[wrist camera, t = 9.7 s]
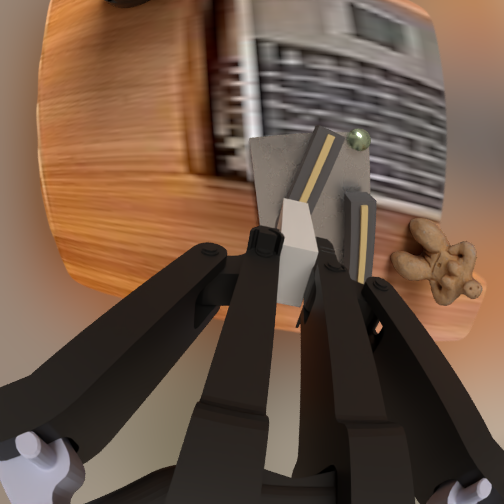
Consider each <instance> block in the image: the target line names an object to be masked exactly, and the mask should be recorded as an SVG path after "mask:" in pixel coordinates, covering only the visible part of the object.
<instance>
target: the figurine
mask: <svg viewBox="0 0 504 504" xmlns="http://www.w3.org/2000/svg"><path fill="white" fill-rule="evenodd" d="M409 226H410V231H411V233H412V235H413V237H414V239H415V240H416V242H418V243H420V244H421V245H422V246H423V247H424V250H423V252H422V253H421V254H420V255H418V256H415V255H412V254H410V253H408V252H406V251H397V252H394V253H392V255H391V261H392V263H393V266H394V268H395V269H396V271H397V272H398V273H399V274H400V275H401V276H402V277H403V278H406V279H408V280H411V281H419V280H423V279H427V280H429V281H430V285H431V291H432V294H433V297H434V299H435V301H436V302H437V303H438V304H439V305H443V306H447V305H450V304H451V303H452V302H453V301H454V300H456V299H457V298H458V297H459V296H460V295H461V294H464V295H466V296H467V297H469V298H470V299H475V298H478V297H479V296H480V294H481V292H482V286H481V284H480V283H479V282H478V281H476V280H475V279H474V278H473V277H472V272H473V269H474V266H475V262H476V258H477V252H476V249H475V247H474V245H473V244H471V243H469V242H467V241H463V242H460V243H458V244H456V245H452V246H450V243H449V241H448V240H447V238H446V236H445V234H444V233H443V232H442V230H441V229H440V228H439V227H438V225H436V224H435V223H434V222H433V221H431V220H428V219H423V218H416V219H413V220H411V222H410V224H409Z"/></svg>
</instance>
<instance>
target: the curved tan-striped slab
mask: <svg viewBox="0 0 504 504" xmlns="http://www.w3.org/2000/svg"><path fill="white" fill-rule="evenodd" d="M375 226H376V200H375V199H374V198H373V197H372V196H371V195H370V194H368V193H367V192H344V263H343V265H344V266H345V267H346V268H347V270H348V272H349V275H350V278H351V279H352V280H355V281H357V282H359V283H362V284H364V283H365V281H366V279H367V278H368V277H372V267H373V256H374V243H375Z"/></svg>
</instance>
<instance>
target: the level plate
mask: <svg viewBox="0 0 504 504" xmlns="http://www.w3.org/2000/svg"><path fill="white" fill-rule="evenodd" d="M335 133H337V134H339V135H342V136H344V137H346V138H345V141H344V143H343V145H342V148H341V150H340V152H339V155H338V157H337V159H336V161H335V164H334V166H333V168H332V171H331V173H330V175H329V177H328V180H327V182H326V184H325V186H324V188H323V191H322V193H321V195H320V197H319V199H318V202H317V204H316V206H315V208H314V210H313V212H312V215H311V220H312V224H313V229H314V233H315V236H316V237H320V238H325V239H328V240H329V241H330V242H331V243H332V244H333V247H334V250H335V254H336V257H337V260H338V262H339V263H341V264H343V263H344V192H367V193H368V194H370V161H369V146H370V142H371V139H370V136H369V134H368V132H366V131H365V130H363V129H353V130H352V131H350V132H335ZM312 134H313V133H302V134H286V135H274V136H264V137H254V138H249V140H250V148H251V155H252V163H253V171H254V180H255V188H256V196H257V204H258V213H259V221H260V225H262V226H267V227H271V228H275V222H276V219H277V217H278V214H279V212H280V210H281V207H282V204H283V199H284V198H286V196H287V193H288V191H289V189H290V186H291V184H292V181H293V179H294V177H295V174H296V172H297V169H298V167H299V165H300V162H301V160H302V158H303V155H304V153H305V150H306V148H307V146H308V143H309V141H310V138H311V136H312Z"/></svg>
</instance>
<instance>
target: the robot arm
mask: <svg viewBox="0 0 504 504" xmlns="http://www.w3.org/2000/svg"><path fill="white" fill-rule="evenodd" d="M104 1H106V2H107V3H109V4H111V5H113V6H115V7H120V8H128V7H133V6H137V5H140V4H142V3H145V2H147V1H149V0H104ZM303 298H304V305H303V308H302V311H301V314H300V316H299V319H298V322H297V324H296V328H298V327H299V325H300V324H301V390H300V391H301V392H300V393H301V394H300V426H299V448H298V459H297V462H296V465H295V467H294V470H293V473H292V477H291V478H290V477H286V476H284V475H280V474H277V473H274V472H271V471H268V470H265V469H264V464H265V456H266V448H267V440H268V431H269V418H268V416H267V415H266V404H267V396H268V387H269V378H270V369H271V358H272V348H273V338H274V327H275V316H276V304H277V303H281V304H286V305H291V306H296V307H300V306H301V303H302V301H303ZM220 306H229V308H228V312H227V315H226V318H225V321H224V325H223V328H222V331H221V334H220V338H219V341H218V344H217V347H216V350H215V354H214V357H213V360H212V363H211V367H210V370H209V373H208V376H207V380H206V383H205V386H204V389H203V393H202V396H201V399H200V401H199V402H197V404H196V406H195V408H194V411H193V414H192V416H191V420H190V423H189V426H188V429H187V432H186V436H185V439H184V442H183V445H182V449H181V452H180V455H179V458H178V461H177V465H173V466H169V467H165V468H162V469H159V470H156V471H154V472H151V473H150V474H148V475H146V476H144V477H142V478H140V479H138V480H136V481H134V482H132V483H130V484H128V485H127V486H124V487H122V488H120V489H118V490H116V491H113V492H111V493H109V494H107V495H105V496H102V497H100V498H97V499H95V500H93V501H90V502H88V503H85V504H415V497H416V499H417V501H418V502H419V503H420V504H504V450H503V449H502V448H501V447H500V446H499V445H498V444H497V442H496V441H495V440H494V439H493V438H492V436H491V434H490V432H489V430H488V428H487V426H486V424H485V422H484V420H483V419H482V417H481V415H480V413H479V411H478V410H477V408H476V406H475V404H474V403H473V401H472V400H471V397H470V396H469V394H468V392H467V391H466V389H465V387H464V386H463V384H462V382H461V381H460V379H459V378H458V376H457V375H456V373H455V371H454V370H453V368H452V367H451V365H450V364H449V362H448V361H447V359H446V358H445V356H444V355H443V354H442V352H441V350H440V349H439V347H438V346H437V345H436V343H435V342H434V340H433V339H432V338H431V336H430V335H429V333H428V332H427V331H426V329H425V328H424V326H423V325H422V324H421V322H420V321H419V320H418V318H417V317H416V316H415V314H414V313H413V312H412V310H411V309H410V308H409V307H408V305H407V304H406V303H405V301H404V300H403V299H402V298H401V296H400V295H399V294H398V293H397V291H396V290H395V289H394V288H393V286H392V285H391V284H390V283H388V282H387V281H385V280H384V279H381V278H380V277H368V278H367V279H366V281H365V283H364V284H362V283H359V282H357V281H355V280H352V279H351V278H350V275H349V272H348V270H347V268H346V267H345V266H344V265H343V264H341V263H339V262H338V260H337V257H336V254H335V250H334V247H333V244H332V243H331V242H330V241H329V240H328V239H325V238H320V237H316V236H315V233H314V229H313V224H312V220H311V215H310V211H309V206H308V203H304V202H299V201H295V200H291V199H286V198H284V199H283V204H282V208H281V213H280V217H279V222H278V226H277V229H276V228H271V227H267V226H262V225H260V226H258V227H255V228H252V229H251V231H250V236H249V241H248V247H247V251H246V253H245V254H243V255H238V256H227V250H226V249H225V248H224V247H222V246H220V245H218V244H214V243H209V242H206V243H200V244H198V245H195V246H194V247H192V248H191V249H190V250H188V251H187V252H185V253H184V254H183V255H181V256H180V257H179V258H177V259H176V260H174V261H173V262H172V263H170V264H169V265H168V266H166V267H165V268H163V269H162V270H161V271H159V272H158V273H157V274H155V275H154V276H153V277H151V278H150V279H149V280H147V281H146V282H145V283H143V284H142V285H141V286H139V287H138V288H137V289H135V290H134V291H133V292H132V293H130V294H129V295H128V296H126V297H125V298H124V299H122V300H121V301H120V302H119V303H117V304H116V305H115V306H113V307H112V308H111V309H110V310H109V311H107V312H106V313H105V314H103V315H102V316H101V317H99V318H98V319H97V320H96V321H94V322H93V323H92V324H91V325H89V326H88V327H87V328H86V329H84V330H83V331H82V332H81V333H79V334H78V335H77V336H76V337H75V338H74V339H72V340H71V341H70V342H68V343H67V344H66V345H65V346H64V347H63V348H61V349H60V350H59V351H58V352H56V353H55V354H54V355H53V356H52V357H51V358H49V359H48V360H47V361H46V362H45V363H44V364H42V365H41V366H40V367H39V368H38V369H37V370H35V371H34V372H33V373H32V374H31V375H29V376H27V377H25V378H22V379H20V380H17V381H15V382H12V383H10V384H7V385H5V386H3V387H0V481H1V483H2V485H3V488H4V490H5V491H6V494H7V496H8V498H9V500H10V502H11V504H70V501H71V498H72V496H73V494H74V493H75V492H76V491H77V490H78V489H79V488H80V487H81V486H82V485H83V482H84V481H85V469H84V466H83V464H84V463H86V462H88V461H89V460H90V459H92V458H93V457H94V456H95V455H97V454H98V453H99V452H100V451H101V450H102V449H103V448H104V447H105V446H106V445H107V444H108V443H109V442H110V441H111V440H112V439H113V438H114V436H115V435H116V434H117V433H118V432H119V430H120V429H121V428H122V427H123V426H124V425H125V423H126V422H127V421H128V420H129V419H130V418H131V416H132V415H133V414H134V413H135V411H136V410H137V409H138V408H139V407H140V406H141V404H142V403H143V402H144V401H145V400H146V398H147V397H148V396H149V395H150V394H151V392H152V391H153V390H154V389H155V388H156V386H157V385H158V384H159V383H160V382H161V380H162V379H163V378H164V377H165V376H166V374H167V373H168V372H169V370H170V369H171V368H172V367H173V366H174V365H175V363H176V362H177V361H178V359H180V357H181V356H182V355H183V353H184V352H185V351H186V350H187V349H188V348H189V346H190V345H191V344H192V343H193V341H194V340H195V339H196V338H197V337H198V335H199V334H200V333H201V332H202V330H203V329H204V328H205V327H206V325H207V324H208V323H209V322H210V321H211V319H212V318H213V317H214V316H215V314H216V313H217V312H218V311H219V308H220ZM379 321H380V322H381V324H382V326H383V327H382V329H381V331H380V332H379V334H378V333H377V332H376V330H375V328H376V327H377V325H378V323H379Z"/></svg>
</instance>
